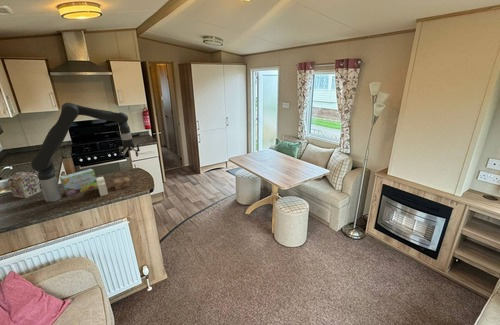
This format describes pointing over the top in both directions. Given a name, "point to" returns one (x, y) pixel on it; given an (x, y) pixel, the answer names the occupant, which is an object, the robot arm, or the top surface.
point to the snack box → (78, 182)
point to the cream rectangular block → (102, 186)
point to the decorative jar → (24, 184)
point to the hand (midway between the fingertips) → (131, 157)
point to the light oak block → (122, 183)
